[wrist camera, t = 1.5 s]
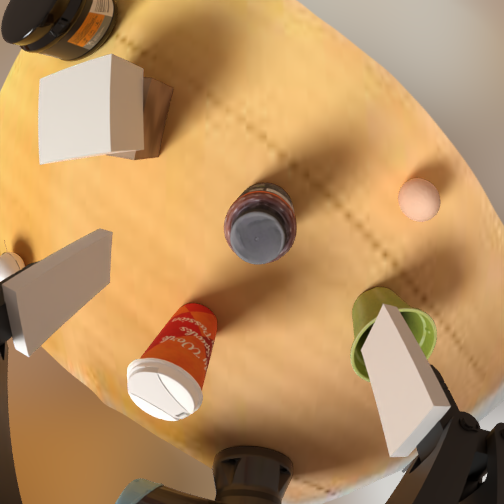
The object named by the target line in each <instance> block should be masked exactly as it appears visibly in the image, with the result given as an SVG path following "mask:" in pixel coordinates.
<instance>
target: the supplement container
mask: <svg viewBox="0 0 504 504" xmlns="http://www.w3.org/2000/svg"><path fill="white" fill-rule="evenodd" d="M116 19H117V5H116V2H115V0H10V2H9V4H8V6H7V8H6V10H5V13H4V16H3V20H2V26H1V31H2V36H3V39H4V40H5V41H6V42H7V43H10V44H15V45H20V47H21V48H22V49H23V50H24V51H27V52H30V53H39V54H44V55H48V56H51V57H55V58H59V59H61V60H64V61H77V60H80V59H83V58H85V57H87V56H89V55H91V54H92V53H94V52H95V51H96V50H97V49H98V48H99V47H100V46H101V45H102V44H103V43H104V42H105V41H106V40H107V38H108V37H109V35H110V34H111V32H112V30H113V28H114V26H115V23H116Z"/></svg>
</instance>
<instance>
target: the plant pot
mask: <svg viewBox="0 0 504 504" xmlns="http://www.w3.org/2000/svg"><path fill="white" fill-rule="evenodd" d="M383 304H387V305H391V306H395V307H397V308H398V310H399V311H400V313H401V315H402V316H403V318H404V320H405V322H406V323H407V325H408V327H409V328H410V330H411V332H412V334H413V335H414V337H415V339H416V341H417V342H418V344H419V346H420V348H421V350H422V351H423V353H424V355H425V357H426V359H427V360H428V358H429V357H430V356H431V354H432V352H433V350H434V347H435V344H436V340H437V330H436V325H435V323H434V321H433V319H432V318H431V317H430V316H429V315H428V314H427V313H426V312H424V311H422V310H420V309H417V308H412V307H410V306H409V305H408V304H407V303H406V302H404V301H403V300H402V299H401V298H400V297H399V296H398V295H397V294H395V293H394V292H393V291H392V290H390V289H388V288H385V287H375V288H373V289H371V290H368V291H366V292H364V293H362V294H361V295H360V296H359V297H358V298H357V300H356V301H355V303H354V306H353V310H352V317H353V327H354V341H353V344H352V347H351V354H350V358H351V364H352V367H353V369H354V371H355V373H356V374H357V375H358V376H359V377H361V378H362V379H364V380H366V381H368V382H370V379H369V375H368V372H367V368H366V365H365V362H364V358H363V355H362V352H361V349H362V347H363V345H364V343H365V341H366V339H367V337H368V335H369V333H370V331H371V329H372V327H373V325H374V323H375V321H376V318H377V316H378V314H379V312H380V310H381V308H382V305H383ZM370 325H372V326H371V327H369V326H370Z"/></svg>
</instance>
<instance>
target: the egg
mask: <svg viewBox="0 0 504 504" xmlns="http://www.w3.org/2000/svg"><path fill="white" fill-rule="evenodd" d="M398 202H399V206H400V209H401V210H402V212H403V213H404V214H405V215H406V216H407V217H408V218H410V219H412V220H414V221H419V222H423V221H428V220H430V219H431V218H433V217H434V216H435V215H436V214H437V213H438V211H439V208H440V196H439V193H438V191H437V189H436V187H435V186H434V185H433V184H432V183H430V182H429V181H427V180H425V179H422V178H413V179H410V180H408V181H406V182H405V183H404V184H403V185H402V187H401V188H400V191H399V195H398Z"/></svg>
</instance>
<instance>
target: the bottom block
mask: <svg viewBox="0 0 504 504" xmlns="http://www.w3.org/2000/svg"><path fill="white" fill-rule="evenodd" d="M173 89H174V88H172V87H170V86H168V85H166V84H164V83H162V82H160V81H157V80H155V79H153V78H146V77H143V131H144V150H136V151H128V152H120V153H113V154H106V155H109V156H114V157H120V158H126V159H131V160H138V159H147V158H156V157H158V156H159V151H160V146H161V141H162V136H163V131H164V127H165V122H166V118H167V113H168V109H169V105H170V101H171V97H172V93H173Z"/></svg>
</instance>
